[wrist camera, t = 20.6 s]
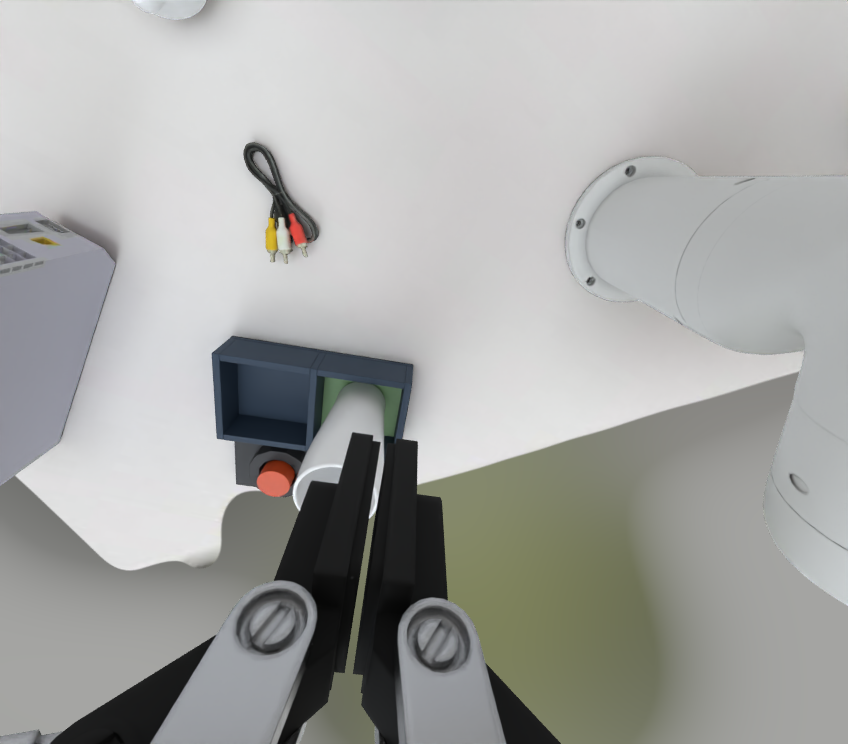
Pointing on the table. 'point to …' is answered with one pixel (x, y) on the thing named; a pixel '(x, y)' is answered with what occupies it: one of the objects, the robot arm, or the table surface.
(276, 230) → the composite cable
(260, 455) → the control block
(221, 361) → the divided tray
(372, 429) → the drinking glass
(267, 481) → the button
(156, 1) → the figurine
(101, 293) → the game console
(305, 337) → the table surface
